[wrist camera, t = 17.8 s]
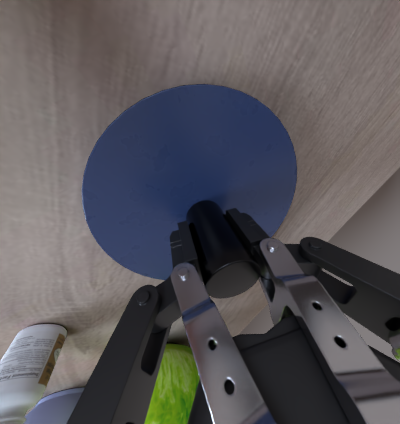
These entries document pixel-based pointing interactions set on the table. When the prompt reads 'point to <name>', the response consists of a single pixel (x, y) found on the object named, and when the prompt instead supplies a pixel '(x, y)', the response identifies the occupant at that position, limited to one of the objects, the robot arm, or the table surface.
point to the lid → (189, 182)
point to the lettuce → (174, 387)
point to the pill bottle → (28, 369)
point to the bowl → (54, 408)
